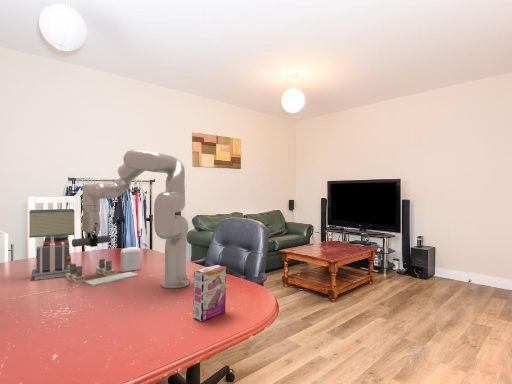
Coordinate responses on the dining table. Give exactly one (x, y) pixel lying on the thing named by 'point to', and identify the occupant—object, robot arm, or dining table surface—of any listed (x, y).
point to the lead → (87, 240)
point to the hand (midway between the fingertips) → (91, 245)
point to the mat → (110, 278)
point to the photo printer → (130, 259)
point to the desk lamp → (52, 256)
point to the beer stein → (58, 241)
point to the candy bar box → (209, 292)
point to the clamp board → (77, 276)
